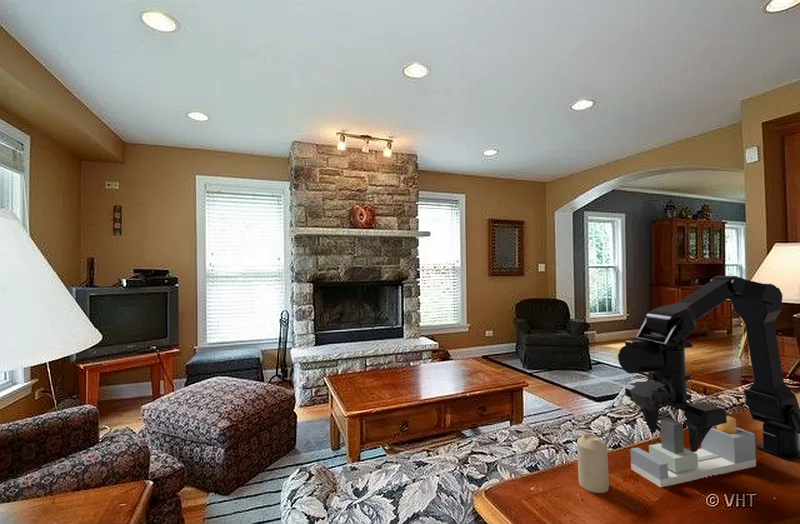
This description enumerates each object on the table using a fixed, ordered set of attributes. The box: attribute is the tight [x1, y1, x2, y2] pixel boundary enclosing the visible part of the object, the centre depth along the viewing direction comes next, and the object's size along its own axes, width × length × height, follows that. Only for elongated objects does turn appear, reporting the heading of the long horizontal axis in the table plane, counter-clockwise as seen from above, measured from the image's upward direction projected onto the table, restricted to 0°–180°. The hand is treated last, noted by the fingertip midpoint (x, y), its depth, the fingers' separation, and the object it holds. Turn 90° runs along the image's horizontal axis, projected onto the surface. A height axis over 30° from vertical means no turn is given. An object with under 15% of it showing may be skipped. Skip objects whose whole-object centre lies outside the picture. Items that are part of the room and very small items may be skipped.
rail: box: [629, 425, 757, 488], centre depth 81 cm, size 26×7×7 cm, turn 104°
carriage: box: [648, 417, 698, 472], centre depth 80 cm, size 6×6×9 cm
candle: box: [576, 433, 610, 494], centre depth 76 cm, size 6×6×10 cm
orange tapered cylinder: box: [717, 415, 738, 434], centre depth 84 cm, size 3×3×6 cm
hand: (672, 441), depth 80 cm, fingers open, 9 cm apart
